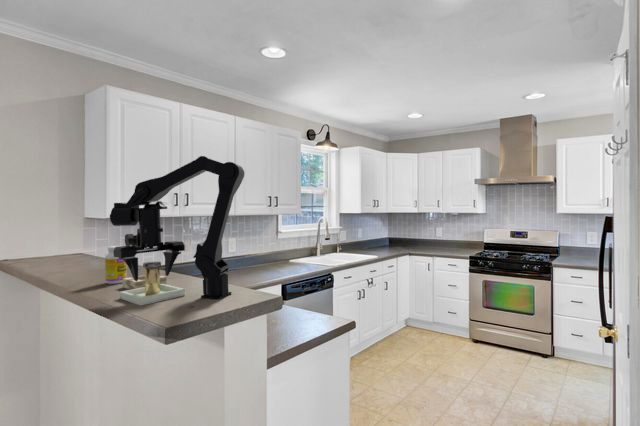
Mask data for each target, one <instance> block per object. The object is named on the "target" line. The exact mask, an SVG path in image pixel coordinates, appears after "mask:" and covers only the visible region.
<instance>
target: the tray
mask: <svg viewBox="0 0 640 426" xmlns="http://www.w3.org/2000/svg"><path fill="white" fill-rule="evenodd" d="M185 294H186V293H185V288H182V287H178V286H173V285H170V284H167V285H166V284H160V293H159V294H154V295H149V296H145V287H143V288H137V289H132V290H130V289H127V290H122V291H119V299H121V300H123V301H126V302H129V303H132V304H134V305H139V306H144V305H150V304H154V303H159V302H161V301H167V300H172V299H176V298H180V297H185V296H186V295H185Z"/></svg>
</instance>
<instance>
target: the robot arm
mask: <svg viewBox="0 0 640 426" xmlns="http://www.w3.org/2000/svg"><path fill="white" fill-rule="evenodd" d="M243 168H244V167H242V165H239V164H237V163H235V162H232V161H227V162H224V163H223V162H220V161H217V160H214V159H211V157H210V158H209V157H207V156H206V155H205V156H204V155H200V156H198V157H197V158H196V159H194V160H192V161H190V162H188V163H187V164H184V165H183V166H181V167H178V168H177V169H175V170H172V171H171V172H169V173H167V174H165V175H162V176H160V177H155V178H151V179H146V180H143V181H140V182H138V183H137V184H136V185H135V186H134V187H135V188H134V192H133V194H132V195H131V197H130V198H129V199H128V201H127V203H126V202H114V203H113V207H112V208H111V212H110V213H109V220H110V222H111V224H112V226H115V227H122V226H123V227H124V226H126V227H127V226H137V224H138V227H139V228H137V229H136V234H135V235H134V234H133V233H127V234H126V233H125V234H124V245H118V246H119V247H115V249H114V257H119V259H120V260H124V261H125V262H126V265H127V267H128V269H129V271H130V273H131V275H132V276H131V277H133V278H134V280H135V281H138V276H139V258H138V257H137V254H145V253H153V252H161V251H162V254H163V256H164V274H165V277H167V276H169V275H170V273H171V271H172V268H173V266H174V263H175V261H176V260H177V259H178V257H179V255H181V254H182V252H183V251H185V250H186V247H185V246H186V245H185V243H184V241H182V240H171V241H162V233H163V232H164V230H163V229H164V228H162V227H161V224H162V223H161V210H167V209H168V206H167V205H165V204H164V203H163V201H161V199H163V198H164V197H165V196H166V195H168V193H169V192H170V191H172V190H173V189H174V188H175V187H178V186H180V185H181V184H184V183H186V182H188V181H190V180H192V179H194V178H196V177H198V176H200V175H201V174H204V173H206V172H209V173H212V174H214V175H218V177H217V179H218V181H217V183H218V184H217V186H218V193H217V198H216V202H215V204H214V205H215V206H214V209H213V213H212V216H211V221H210V223H209V227H208V228H209V229H208V231H207V234H206V239H205V240H204V242H200V243H197V244H196V250H195V254H194V256H193V259H194V258H195V259H194V265H195V266H196V267H197V269H198V270H199V271H200V274H201V276H202V278H203V279H202V292H203V293H202V294H201V295H200V298H206V299H215V300H216V299H218V300H219V299H222V298H224V297H227V296H229V295H232V291H229V274H228V273H227V272H228V271H229V269H230V268H229V267H230V265H229V263H227V262H226V261H225V260H224V259H223V257H222V256H223V242H222V241H223V236H224V233H225V229H226V226H227V222H228V219H229V215H230V211H231V207H232V204H233V200H234V196H235V194H236V193H237V192H238V189H239V188H240V186H241V185H242V182H243V180H244V179H245V178H244V177H245V170H244V169H243ZM140 206H143V207H140Z"/></svg>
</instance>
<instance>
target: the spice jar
mask: <svg viewBox="0 0 640 426" xmlns="http://www.w3.org/2000/svg"><path fill="white" fill-rule="evenodd" d="M161 263H162V261H146V262H143V263H142V268H144V275H145V296H149V295H154V294H159V293H160V274H161V273H160V271H161V270H160V269H161V268H160V267H161V265H162V264H161Z"/></svg>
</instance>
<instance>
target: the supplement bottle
mask: <svg viewBox="0 0 640 426" xmlns="http://www.w3.org/2000/svg"><path fill="white" fill-rule="evenodd" d="M119 246H120V245H112V246H108V247H107V251H108V253H107V254H106V255H105V257H104V262H105V263H104V264H105V265H104V267H105V283H106V284H108V285H109V284H110V285H116V284H123V278H128V271H127V270H128V269H127V267H128V265H127V264H126V262H125V261H124V260H120V259H119V257H114V249H115V247H119Z"/></svg>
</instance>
